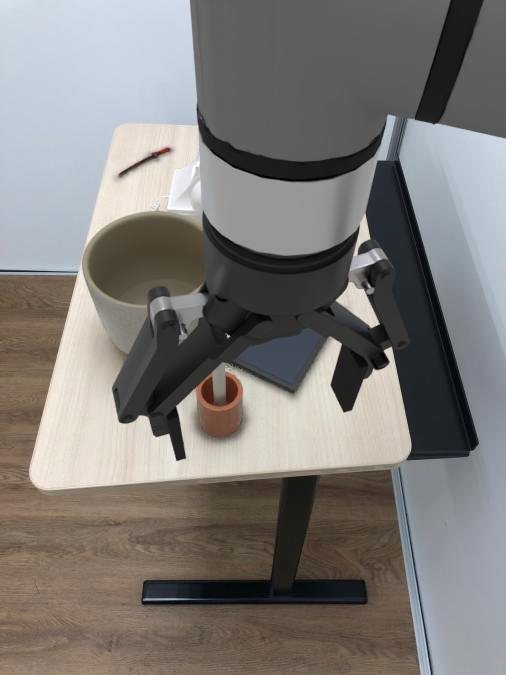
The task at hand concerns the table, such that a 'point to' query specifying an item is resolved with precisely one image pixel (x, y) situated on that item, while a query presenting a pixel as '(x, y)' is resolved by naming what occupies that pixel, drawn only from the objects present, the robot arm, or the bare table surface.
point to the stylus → (219, 385)
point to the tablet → (282, 359)
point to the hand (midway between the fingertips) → (261, 420)
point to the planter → (141, 268)
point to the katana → (145, 159)
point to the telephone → (185, 192)
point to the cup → (223, 417)
